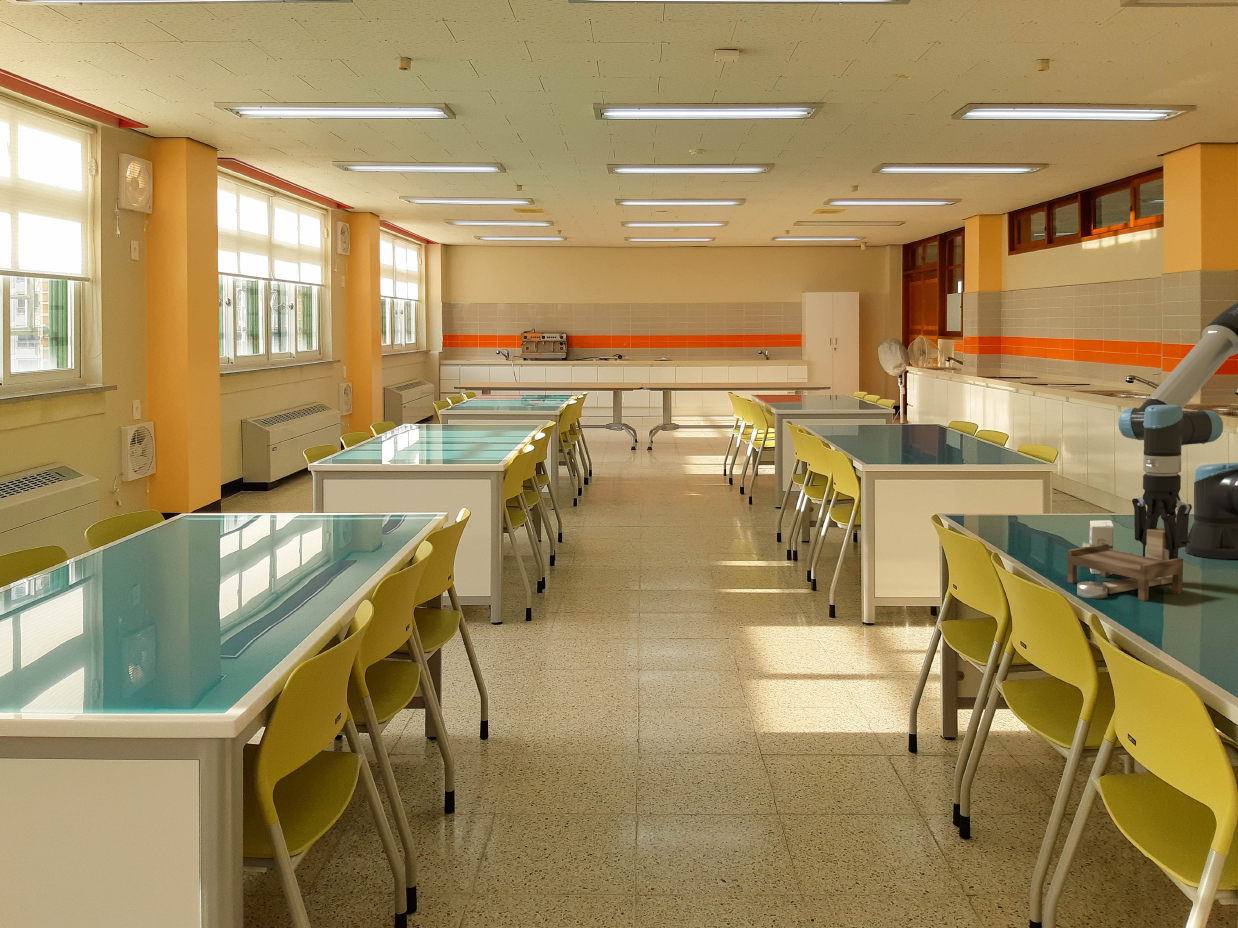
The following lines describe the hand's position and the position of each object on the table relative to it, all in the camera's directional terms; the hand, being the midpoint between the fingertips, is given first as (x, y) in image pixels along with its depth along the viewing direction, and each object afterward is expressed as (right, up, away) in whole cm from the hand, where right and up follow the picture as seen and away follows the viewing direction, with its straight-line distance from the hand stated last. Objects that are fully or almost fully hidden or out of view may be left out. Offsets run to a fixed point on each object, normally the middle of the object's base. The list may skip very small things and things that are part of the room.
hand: (1159, 574), depth 226 cm
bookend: (-7, -2, -3) cm, 8 cm away
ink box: (-7, -1, +13) cm, 15 cm away
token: (-19, -4, -8) cm, 21 cm away
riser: (-10, -3, -3) cm, 11 cm away
